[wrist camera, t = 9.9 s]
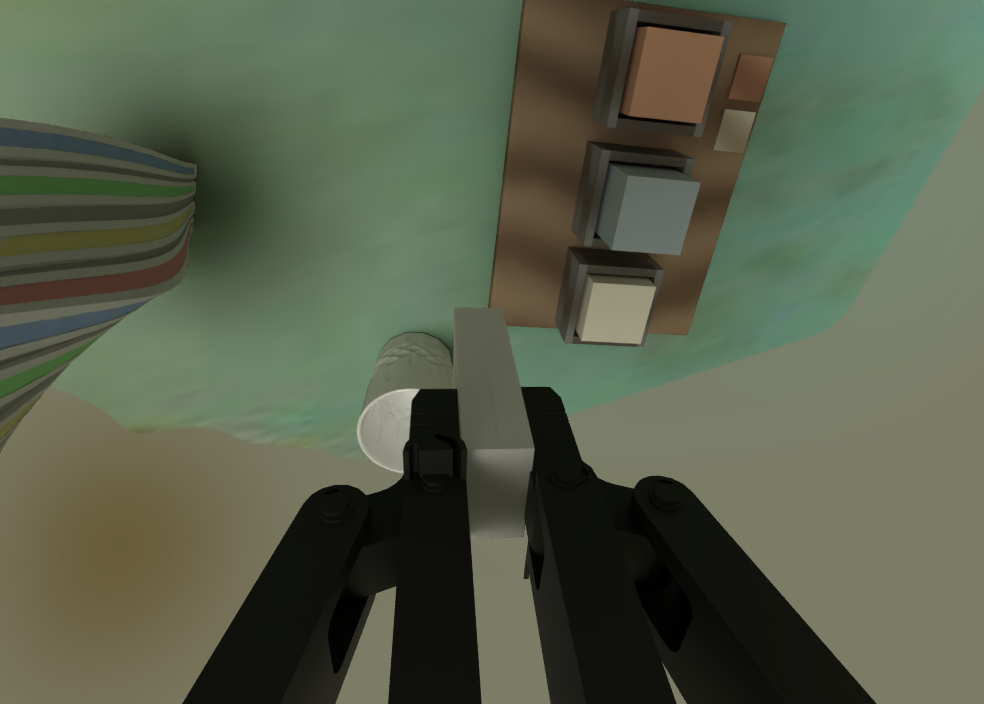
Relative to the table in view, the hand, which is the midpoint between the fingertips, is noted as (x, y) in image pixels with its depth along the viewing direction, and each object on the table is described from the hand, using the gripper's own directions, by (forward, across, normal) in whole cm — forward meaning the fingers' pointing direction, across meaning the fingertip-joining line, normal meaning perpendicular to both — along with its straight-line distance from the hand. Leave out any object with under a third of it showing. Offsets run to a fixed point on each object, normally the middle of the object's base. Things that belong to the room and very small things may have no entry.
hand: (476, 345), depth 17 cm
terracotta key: (+26, +13, +7) cm, 30 cm away
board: (+27, +13, -1) cm, 30 cm away
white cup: (+27, -3, -17) cm, 32 cm away
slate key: (+23, +13, -1) cm, 26 cm away
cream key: (+25, +12, -9) cm, 29 cm away
